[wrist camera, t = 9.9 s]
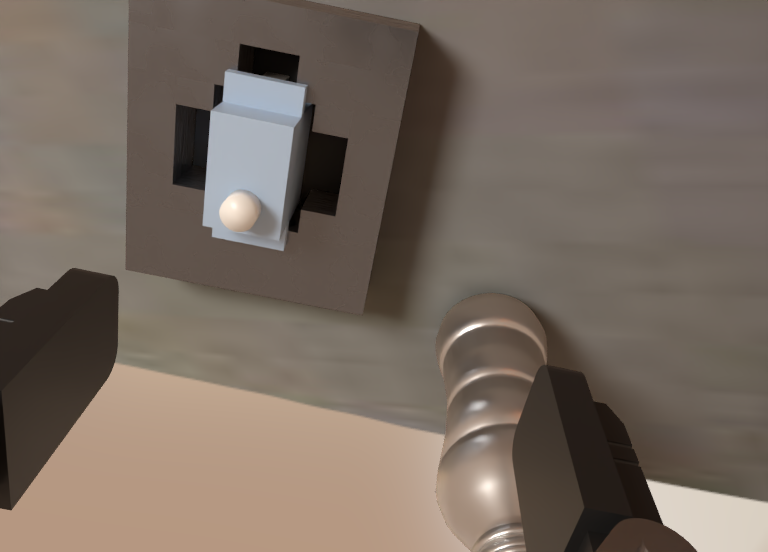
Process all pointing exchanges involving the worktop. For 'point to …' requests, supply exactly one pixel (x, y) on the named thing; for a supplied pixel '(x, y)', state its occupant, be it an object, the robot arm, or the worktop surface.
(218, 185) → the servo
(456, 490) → the plastic bottle
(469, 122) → the worktop surface
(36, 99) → the worktop surface
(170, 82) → the block with stepped hole
